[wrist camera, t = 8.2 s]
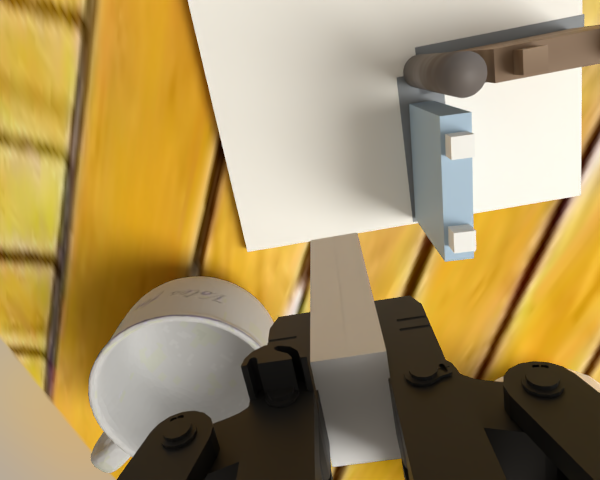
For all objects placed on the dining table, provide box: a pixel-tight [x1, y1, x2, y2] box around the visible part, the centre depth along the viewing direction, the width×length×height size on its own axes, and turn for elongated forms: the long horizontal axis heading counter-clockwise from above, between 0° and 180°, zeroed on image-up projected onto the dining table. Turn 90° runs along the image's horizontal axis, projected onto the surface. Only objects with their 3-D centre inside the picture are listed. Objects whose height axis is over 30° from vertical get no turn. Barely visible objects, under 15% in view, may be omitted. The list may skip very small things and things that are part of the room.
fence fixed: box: [403, 25, 600, 98], centre depth 24 cm, size 2×9×9 cm, turn 101°
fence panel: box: [409, 101, 476, 261], centre depth 26 cm, size 1×7×8 cm, turn 8°
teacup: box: [88, 276, 274, 473], centre depth 31 cm, size 14×11×8 cm
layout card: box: [188, 0, 584, 252], centre depth 29 cm, size 16×21×1 cm
